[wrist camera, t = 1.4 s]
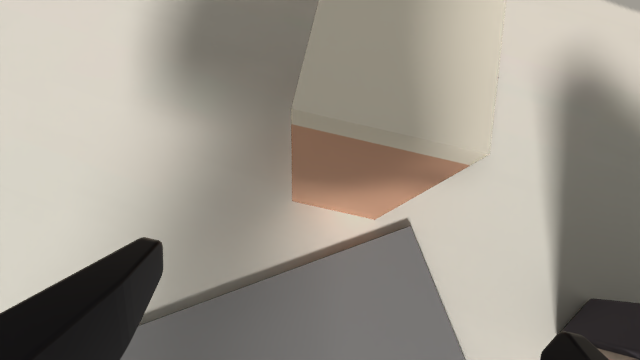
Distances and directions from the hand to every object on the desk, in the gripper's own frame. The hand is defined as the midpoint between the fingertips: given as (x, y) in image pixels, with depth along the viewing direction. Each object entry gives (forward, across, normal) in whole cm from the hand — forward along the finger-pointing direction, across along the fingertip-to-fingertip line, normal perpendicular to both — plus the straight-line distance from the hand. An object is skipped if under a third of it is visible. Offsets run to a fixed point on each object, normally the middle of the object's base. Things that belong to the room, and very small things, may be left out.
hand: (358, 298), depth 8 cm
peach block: (+14, 0, +4) cm, 14 cm away
